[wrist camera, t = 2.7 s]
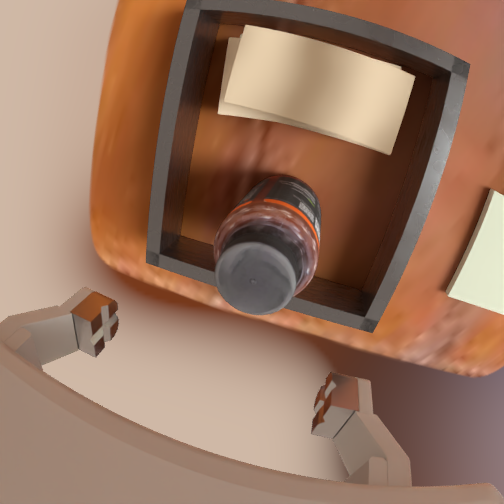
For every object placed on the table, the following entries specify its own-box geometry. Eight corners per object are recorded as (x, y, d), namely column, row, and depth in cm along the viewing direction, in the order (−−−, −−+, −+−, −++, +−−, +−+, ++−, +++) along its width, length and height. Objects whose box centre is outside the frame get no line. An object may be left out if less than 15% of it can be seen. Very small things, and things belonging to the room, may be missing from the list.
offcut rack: (449, 70, 17) (470, 64, 13) (368, 305, 26) (372, 333, 23) (208, 9, 19) (188, -6, 15) (167, 243, 28) (145, 262, 25)
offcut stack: (403, 79, 19) (426, 68, 13) (383, 154, 21) (401, 166, 16) (246, 39, 20) (221, 18, 15) (230, 113, 23) (201, 113, 17)
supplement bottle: (239, 231, 26) (184, 307, 16) (257, 163, 24) (203, 202, 14) (308, 255, 26) (292, 345, 16) (332, 187, 23) (335, 246, 13)
